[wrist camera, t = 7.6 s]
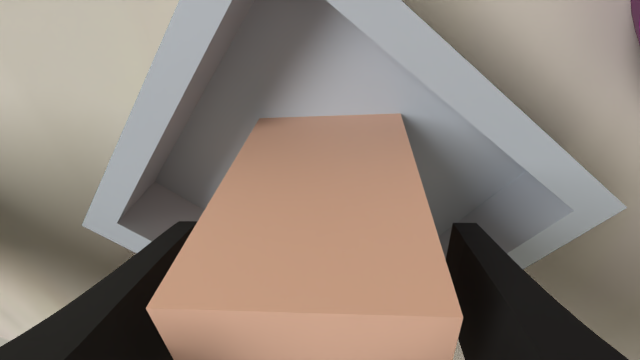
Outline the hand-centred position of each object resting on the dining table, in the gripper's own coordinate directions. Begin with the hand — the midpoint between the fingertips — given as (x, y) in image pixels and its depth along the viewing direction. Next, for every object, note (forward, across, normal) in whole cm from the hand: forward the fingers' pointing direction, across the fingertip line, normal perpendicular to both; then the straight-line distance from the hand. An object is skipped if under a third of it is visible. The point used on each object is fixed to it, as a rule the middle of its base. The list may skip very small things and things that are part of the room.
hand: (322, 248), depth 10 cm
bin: (+5, 0, 0) cm, 5 cm away
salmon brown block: (+4, 0, 0) cm, 4 cm away
